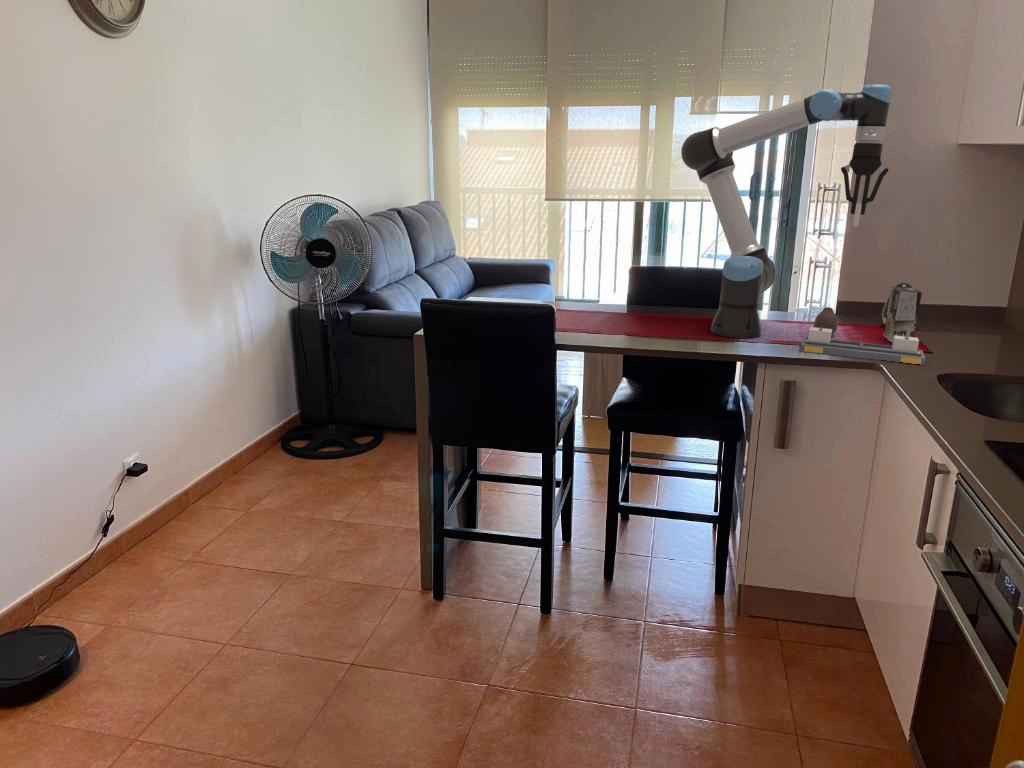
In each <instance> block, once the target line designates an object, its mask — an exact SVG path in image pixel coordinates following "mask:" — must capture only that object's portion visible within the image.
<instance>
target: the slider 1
mask: <svg viewBox="0 0 1024 768" xmlns="http://www.w3.org/2000/svg"><path fill="white" fill-rule="evenodd" d="M809 327H810V328H809V330H808V331H809V333H808V336H807V337H808V342H817V343H826V344H830V341H831V340H832V336H831V334H832V329H824V328H822V327H820V328H815V327H814V326H809Z"/></svg>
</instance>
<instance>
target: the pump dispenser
mask: <svg viewBox="0 0 1024 768" xmlns="http://www.w3.org/2000/svg"><path fill="white" fill-rule="evenodd" d="M894 287H909V288H914V287H913V286H912V285H911V284H910V283H908V282H904V281H903V282H899V283H897V284H895V286H894ZM890 294H891V292H890V293H889V294H888V296H887V299H886V301H885V303H884V306H883V308H882V311H881V317H882V322H883V324H884V325H885V324H886V317H887V311H888V305H889V299H890Z"/></svg>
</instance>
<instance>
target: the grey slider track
mask: <svg viewBox="0 0 1024 768" xmlns="http://www.w3.org/2000/svg"><path fill="white" fill-rule="evenodd" d="M808 337H809V336H806V337H805V336H804V337H803V336H802V340H801V344H800V352H802V353H808V354H809V353H811V354H818V355H819V354H820V355H829V356H835V357H836V356H839V357H844V356H845V357H847V358H853V357H855V358H856V359H862V358H863V359H865V360H871V359H873V360H874V361H880V360H888V361H887V362H889V361H896V362H895V363H898V362H903V363H902V364H906V363H911V364H910V365H915V364H920V365H919V366H925V365H926V364H925V363H926V361H927V360H926V359H927V357H926V355H925V353H924V351H923V349H920V348H918V349H917V353H909V352H900V351H892V345H886V344H875V343H869V342H868V343H867V342H857V341H848V340H838V339H837V340H836V339H831V341H830V344H826V343H817V342H808ZM845 357H844V358H845ZM863 359H862V360H863ZM873 360H872V361H873Z"/></svg>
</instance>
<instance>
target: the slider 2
mask: <svg viewBox="0 0 1024 768" xmlns="http://www.w3.org/2000/svg"><path fill="white" fill-rule="evenodd" d="M919 343H920V340H919V338H918V337H916V336H914V337H908V336H895V335H894V339H893V343H892V344H891V346H892V351H900V352H909V353H917V349H919V345H920V344H919Z"/></svg>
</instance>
